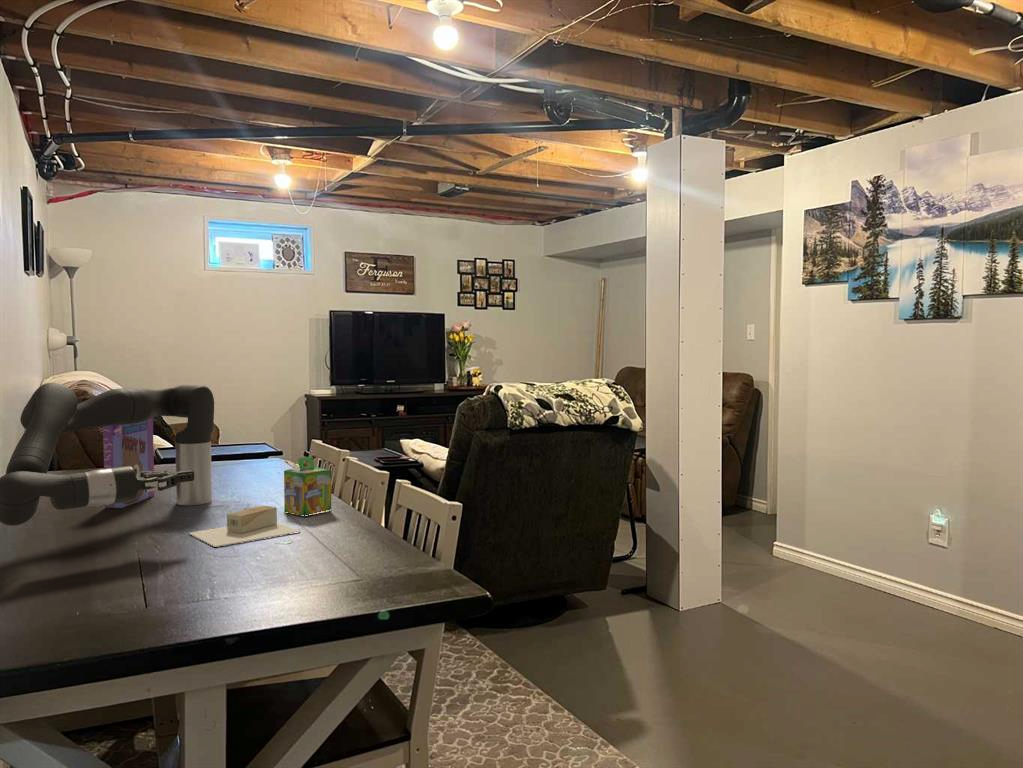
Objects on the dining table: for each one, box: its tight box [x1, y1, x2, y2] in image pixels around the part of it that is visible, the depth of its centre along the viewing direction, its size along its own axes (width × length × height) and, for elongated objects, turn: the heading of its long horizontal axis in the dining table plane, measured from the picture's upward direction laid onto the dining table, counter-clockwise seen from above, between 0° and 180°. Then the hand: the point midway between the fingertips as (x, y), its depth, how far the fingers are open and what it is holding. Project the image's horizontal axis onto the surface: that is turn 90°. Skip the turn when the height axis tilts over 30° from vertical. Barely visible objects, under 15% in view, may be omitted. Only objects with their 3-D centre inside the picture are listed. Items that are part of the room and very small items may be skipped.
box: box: [226, 505, 278, 533], centre depth 179 cm, size 5×4×11 cm
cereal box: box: [102, 417, 155, 509], centre depth 210 cm, size 17×5×24 cm, turn 179°
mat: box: [188, 522, 300, 548], centre depth 175 cm, size 16×20×1 cm
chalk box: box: [283, 455, 332, 516], centre depth 197 cm, size 9×9×15 cm
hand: (192, 475), depth 167 cm, fingers closed
